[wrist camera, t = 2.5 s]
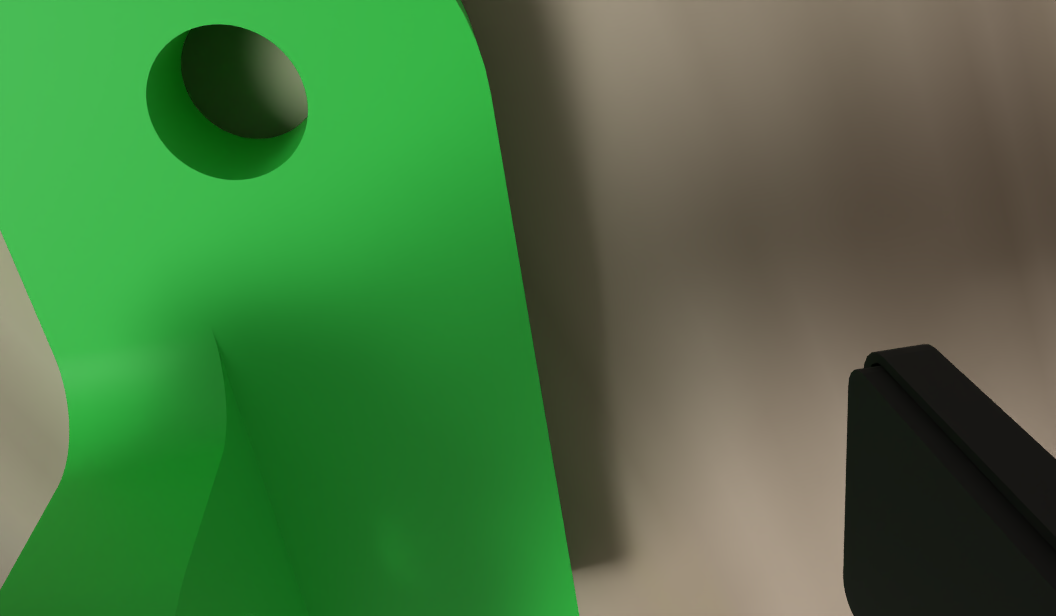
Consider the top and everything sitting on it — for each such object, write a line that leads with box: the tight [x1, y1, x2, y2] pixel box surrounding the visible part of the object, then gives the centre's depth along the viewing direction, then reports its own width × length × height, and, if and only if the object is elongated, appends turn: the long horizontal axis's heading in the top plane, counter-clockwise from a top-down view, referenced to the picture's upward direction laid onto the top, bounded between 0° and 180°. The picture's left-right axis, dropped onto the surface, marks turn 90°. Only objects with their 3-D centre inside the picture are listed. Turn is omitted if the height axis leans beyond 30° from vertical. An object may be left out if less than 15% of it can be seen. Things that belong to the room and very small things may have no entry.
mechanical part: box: [0, 0, 579, 616], centre depth 11 cm, size 12×6×8 cm, turn 9°
